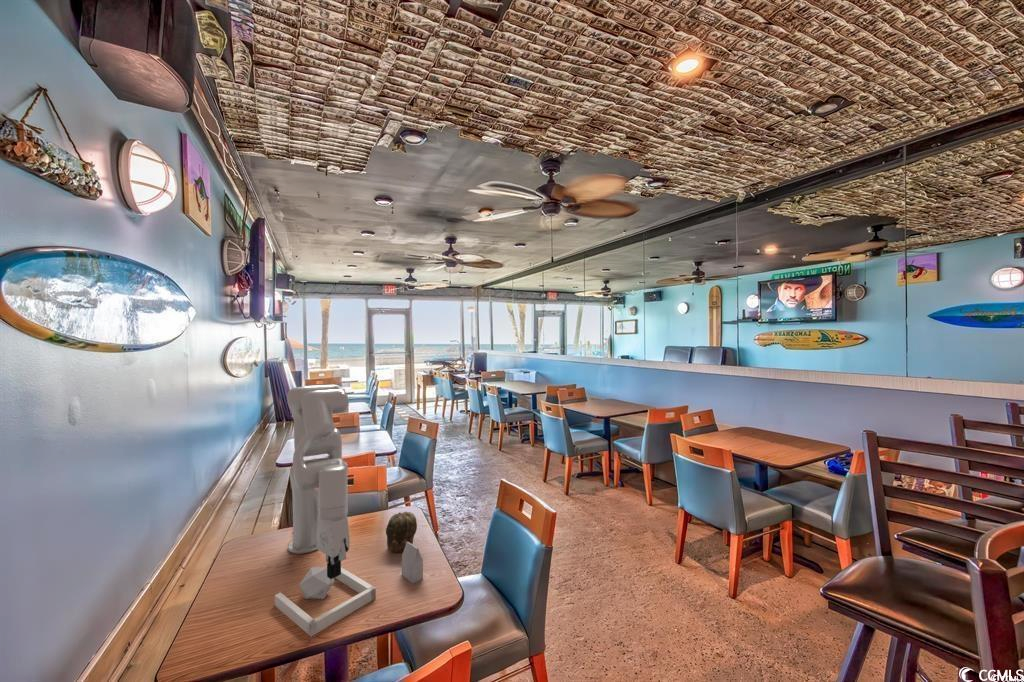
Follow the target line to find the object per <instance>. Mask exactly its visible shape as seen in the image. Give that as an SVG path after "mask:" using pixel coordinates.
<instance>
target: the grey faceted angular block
mask: <svg viewBox="0 0 1024 682" xmlns="http://www.w3.org/2000/svg"><path fill="white" fill-rule="evenodd" d="M401 575H402V576H403V577H404V578H405V579H406V580H407V581H409V582H410V583H412V584H414V583H417V582H418V581H421V580H423V579H424V559H423V557H422V555H421V553H420V548H418V547H416V546H415V545H414V544H411V543H409V542H408V541H407V542H406V546H405V549H404V551H403V552H402V555H401Z"/></svg>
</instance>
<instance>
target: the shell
mask: <svg viewBox="0 0 1024 682" xmlns="http://www.w3.org/2000/svg"><path fill="white" fill-rule="evenodd" d="M417 529H418V522H417V518H416V516H415V514H414V513H413V512H411V511H409V512H408V511H404V512H398V513H396V514H393V515H392V516H391V517H390V519H389V520H388V524H387V525H386V528H385V535H386V545H387V549H388V551H389V552H390V553H393V554H395V553H403V551H404V549H405V546H406V542H407V541H408V542H409V543H411V544H412V545H414V544H413V543H414V537H415V535H416V532H417Z"/></svg>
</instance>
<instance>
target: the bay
mask: <svg viewBox="0 0 1024 682" xmlns="http://www.w3.org/2000/svg"><path fill="white" fill-rule="evenodd" d="M334 579H336V580H337V581H340V582H341V583H343V584H344V585H346V586H347V587H349V588H351V589H352V590H354V591H355V592H357V593H358V594H356V595H354V596H353V597H351V598H349V599H347V600H345V601H344V602H342V603H341V604H338V605H337V606H335V607H333V608H331V609H329V610H328V611H326V612H324V613H322V614H321V615H318V617H315V618H313V617H311V615H309V614H308V613H306V612H305V610H303V609H302V608H301V607H299V606H298V605H297V604H296V603H294V602H293V601H291V600H290V599H289V598H288V597H287V596H286V595H284V594H283V593H282V592H279V593H276V594H275V595H274V606H275V607H276V608H277V609H278V610H280V612H282V613H283V614H284V615H285V616H286V617H287V618H289V619H290V620H291V621H292V622H293V623H294V624H295V625H297V626H298V627H299V628H300V629H302V630H303V631H304V632H305V633H306V634H307V635H309V636H310V637H313V636H314V635H316V634H318V633H319V632H321V631H323V630H325V629H327V628H328V627H330V626H332V625H333V624H335V623H336V622H338V621H340V620H342V619H343V618H345V617H346V616H348V615H350V614H351V613H354V612H356V610H358V609H359V608H362V607H363V606H366V605H367V604H368V603H370V602H372V601H373V600H376V598H377V596H376V595H377V594H376V592H377V591H376V589H377V588H376V587H375V586H374V585H371V584H370V583H368V582H367V581H365V580H363V579H362V578H360V577H359V576H356V575H355V574H353V573H351V571H348V570H347V569H344V568H343V567H342V566H341V574H340V575H339V576H337V577H335V578H334Z"/></svg>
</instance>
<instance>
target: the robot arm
mask: <svg viewBox="0 0 1024 682" xmlns="http://www.w3.org/2000/svg"><path fill="white" fill-rule="evenodd" d="M349 401H350V399H349V397H348V394H347V391H346V390H345V389H344V388H343V387H341V386H340V385H338V384H325V385H324V384H322V385H321V384H320V385H302V386H296V387H294V388H291V389H289V391H288V392H287V393H286V402H287V405H288V408H289V410H290V413H291V415H292V418H293V436H294V437H293V445H294V451H293V455H292V465H291V467H290V468H289V478H290V483H291V484H290V485H291V490H292V492H291V493H292V532H291V535H292V540H291V542H290V543H289V544H288V546H287V548H288V549H287V550H288V552H290V553H291V554H297V555H298V554H299V555H301V554H308V553H312V552H315V551H317V550H318V551H319V552H320V553H323V554H324V555H325V561H326V567H327V577H328V578H330V579H333V578H334V579H336V578H335V577H337V576H339V575H340V574H341V567H342V561H344V560H346V559H347V553H348V552H349V551H350V542H351V541H350V528H349V526H350V525H349V521H348V520H349V519H348V514H349V513H348V511H349V510H348V507H349V505H348V500H349V499H348V494H349V493H348V492H349V491H348V473H349V468H348V467H349V466H348V463H347V462H346V461H345V459H343V455H342V454H343V453H342V452H343V451H342V450H343V448H342V447H343V445H342V444H343V443H342V442H343V441H342V435H341V431H340V430H339V429H338V428H337V427H336V426H335V423H334V418H333V415H337V414H343V413H346V412H347V411H348V409H349V406H350V402H349ZM325 454H326V455H327V456H321V457H314V456H320V455H325ZM305 457H306V458H307V457H313V458H308V459H304V458H305Z"/></svg>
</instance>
